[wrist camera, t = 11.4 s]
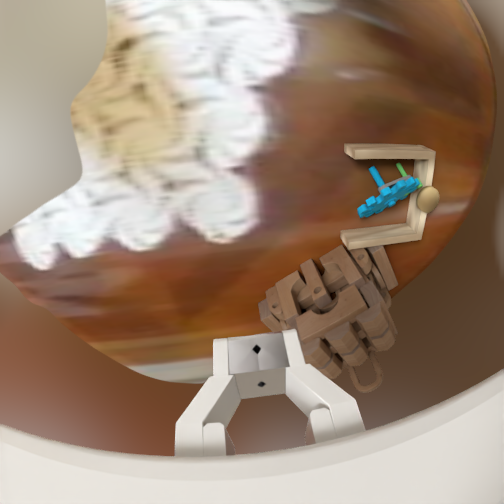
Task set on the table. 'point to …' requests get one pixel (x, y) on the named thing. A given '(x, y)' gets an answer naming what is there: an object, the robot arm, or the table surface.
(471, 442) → the robot arm
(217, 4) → the table surface
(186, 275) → the table surface
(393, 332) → the wooden puzzle
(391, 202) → the gear
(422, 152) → the drawer
